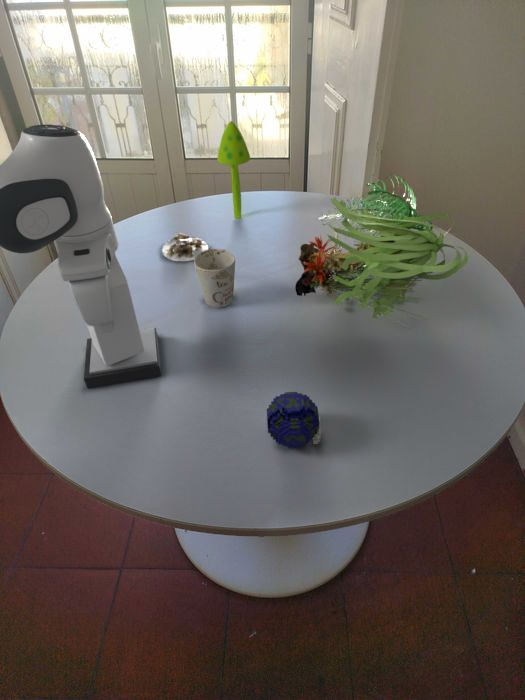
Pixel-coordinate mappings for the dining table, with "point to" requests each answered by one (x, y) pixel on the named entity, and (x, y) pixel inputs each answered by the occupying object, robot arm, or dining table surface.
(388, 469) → the dining table surface
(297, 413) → the ball
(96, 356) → the scale
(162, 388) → the dining table surface
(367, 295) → the plant
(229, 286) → the mug
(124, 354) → the milk carton
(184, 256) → the plate of food scraps
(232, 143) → the mushroom
